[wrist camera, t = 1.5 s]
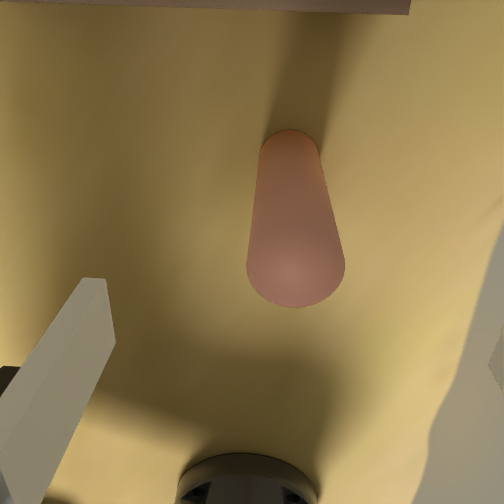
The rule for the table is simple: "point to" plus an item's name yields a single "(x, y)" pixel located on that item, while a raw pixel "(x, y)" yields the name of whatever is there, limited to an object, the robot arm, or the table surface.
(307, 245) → the pin
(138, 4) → the socket block
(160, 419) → the table surface
